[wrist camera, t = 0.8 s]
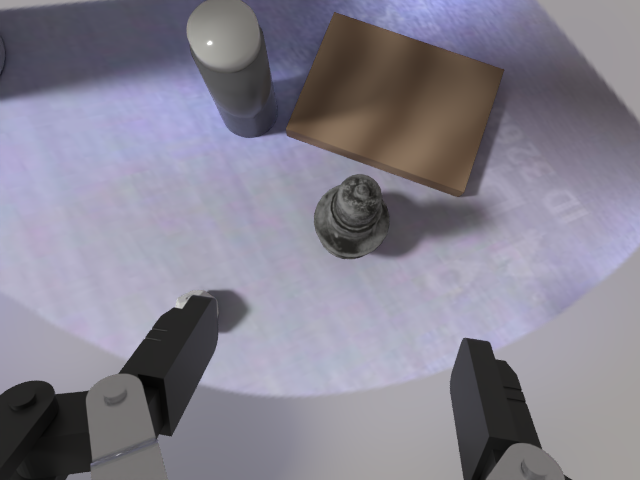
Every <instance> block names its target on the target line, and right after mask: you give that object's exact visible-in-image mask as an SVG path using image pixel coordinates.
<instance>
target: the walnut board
mask: <svg viewBox="0 0 640 480" xmlns="http://www.w3.org/2000/svg"><path fill="white" fill-rule="evenodd" d="M503 72H504V69H501V68H498V67H495V66H492V65H489V64H486V63H483V62H480V61H477V60H474V59H471V58H469V57H466V56H463V55H460V54H457V53H454V52H451V51H448V50H445V49H442V48H439V47H436V46H433V45H430V44H427V43H424V42H421V41H418V40H415V39H412V38H409V37H407V36H404V35H401V34H398V33H395V32H392V31H389V30H386V29H383V28H380V27H377V26H374V25H371V24H368V23H365V22H362V21H359V20H356V19H353V18H350V17H348V16H345V15H342V14H339V13H336V12H334V14H333V16H332V19H331V21H330V24H329V26H328V28H327V31H326V33H325V36H324V38H323V40H322V43H321V45H320V48H319V50H318V53H317V55H316V57H315V60H314V62H313V65H312V67H311V69H310V72H309V74H308V77H307V79H306V81H305V84H304V86H303V89H302V91H301V93H300V96H299V98H298V101H297V103H296V106H295V108H294V110H293V113H292V115H291V118H290V120H289V122H288V125H287V127H286V133H287V136H289V137H291V138H294V139H297V140H300V141H303V142H305V143H308V144H311V145H314V146H316V147H319V148H322V149H325V150H328V151H330V152H333V153H336V154H339V155H342V156H344V157H347V158H350V159H353V160H356V161H358V162H361V163H364V164H367V165H370V166H372V167H375V168H378V169H381V170H383V171H386V172H389V173H392V174H395V175H397V176H400V177H403V178H406V179H409V180H411V181H414V182H417V183H420V184H423V185H425V186H428V187H431V188H434V189H437V190H439V191H442V192H445V193H448V194H450V195H453V196H456V197H459V196H460V195H462V194H463V193H464V191H465V188H466V185H467V182H468V179H469V176H470V173H471V170H472V166H473V163H474V160H475V157H476V154H477V151H478V148H479V145H480V142H481V139H482V136H483V133H484V130H485V127H486V124H487V121H488V118H489V115H490V112H491V109H492V106H493V103H494V99H495V96H496V93H497V90H498V87H499V84H500V81H501V78H502V75H503Z"/></svg>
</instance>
